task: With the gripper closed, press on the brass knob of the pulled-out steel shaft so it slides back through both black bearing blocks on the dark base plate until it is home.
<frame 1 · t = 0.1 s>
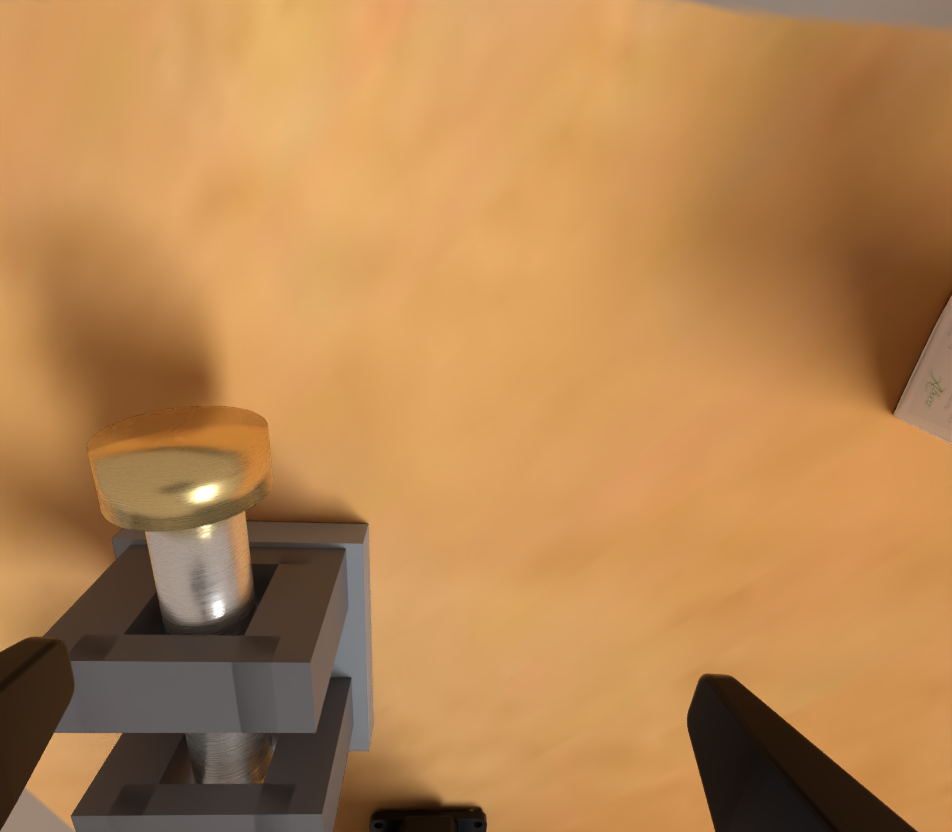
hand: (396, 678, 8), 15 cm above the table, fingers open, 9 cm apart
shaft: (212, 620, 20), point 5 cm above the table, slide at 4.0 cm
bearing bracket: (263, 626, 25), on the table
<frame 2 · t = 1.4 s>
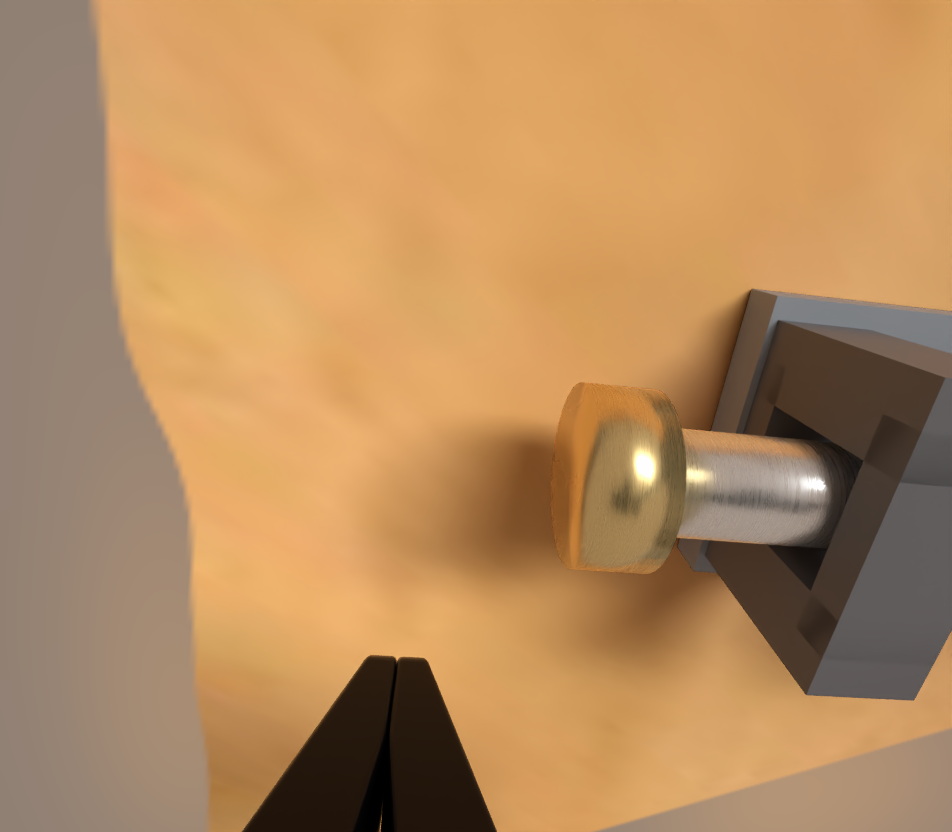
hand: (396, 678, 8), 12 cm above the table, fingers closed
shaft: (827, 494, 15), point 5 cm above the table, slide at 4.0 cm
bearing bracket: (861, 443, 20), on the table
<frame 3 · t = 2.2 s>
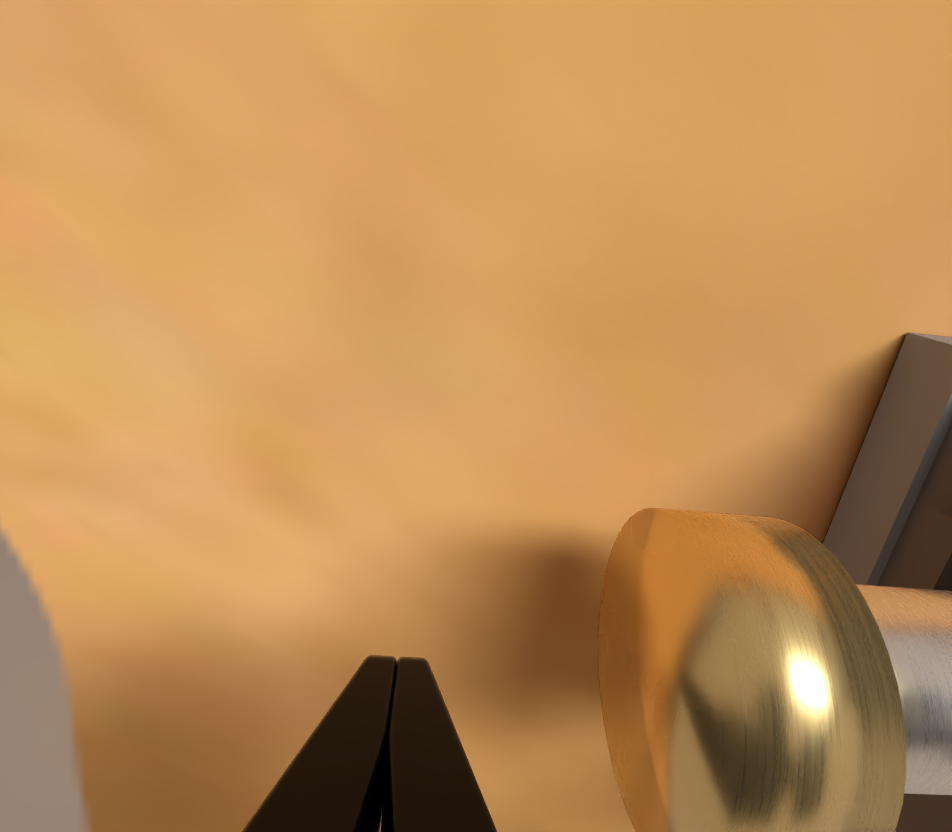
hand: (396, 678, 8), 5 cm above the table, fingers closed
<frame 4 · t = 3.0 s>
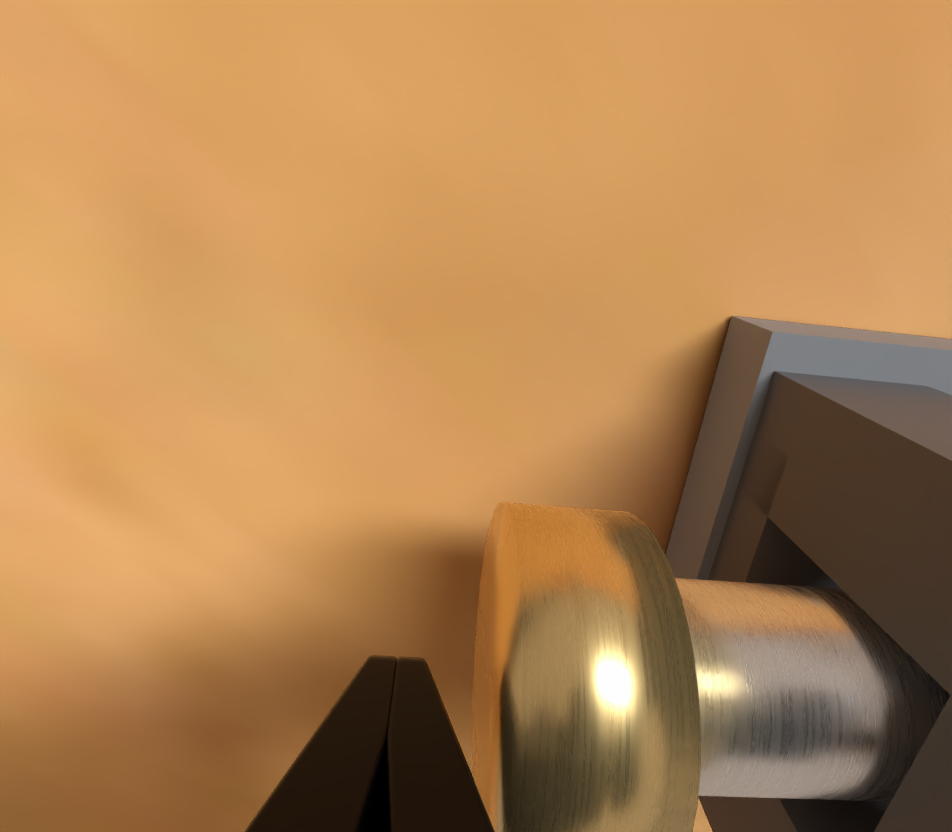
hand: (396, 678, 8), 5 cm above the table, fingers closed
shaft: (942, 691, 9), point 4 cm above the table, slide at 2.6 cm, touching gripper
bearing bracket: (899, 543, 13), on the table
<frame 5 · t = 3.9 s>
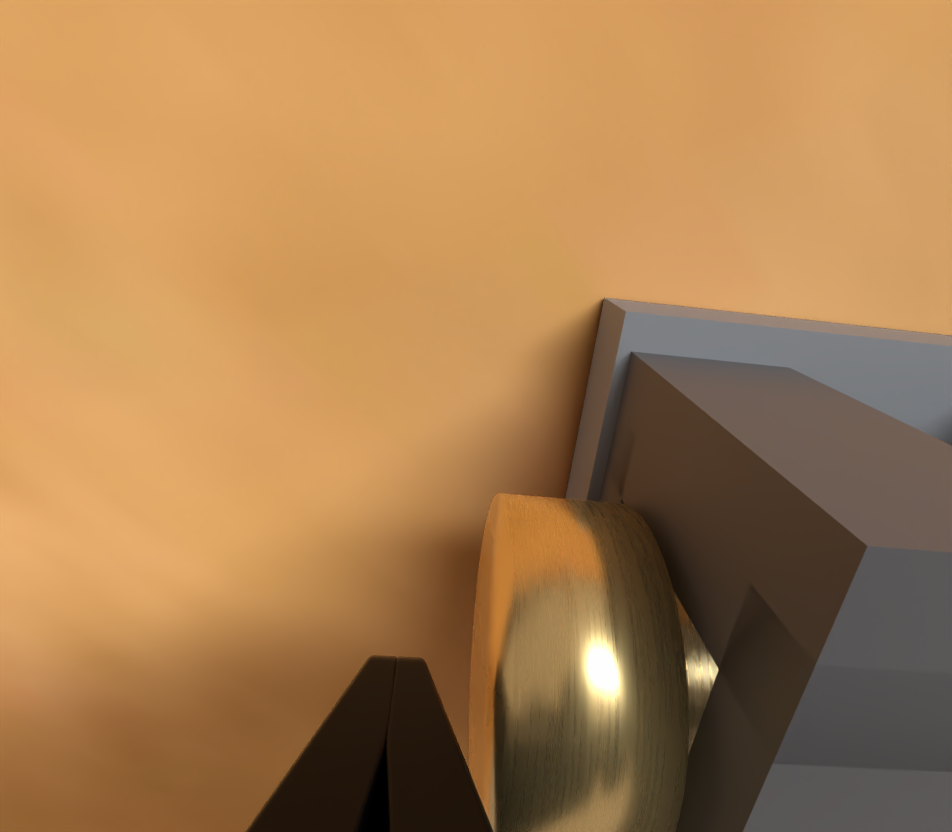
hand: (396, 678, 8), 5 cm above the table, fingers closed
shaft: (934, 682, 9), point 5 cm above the table, slide at 0.0 cm, touching gripper
bearing bracket: (795, 531, 13), on the table
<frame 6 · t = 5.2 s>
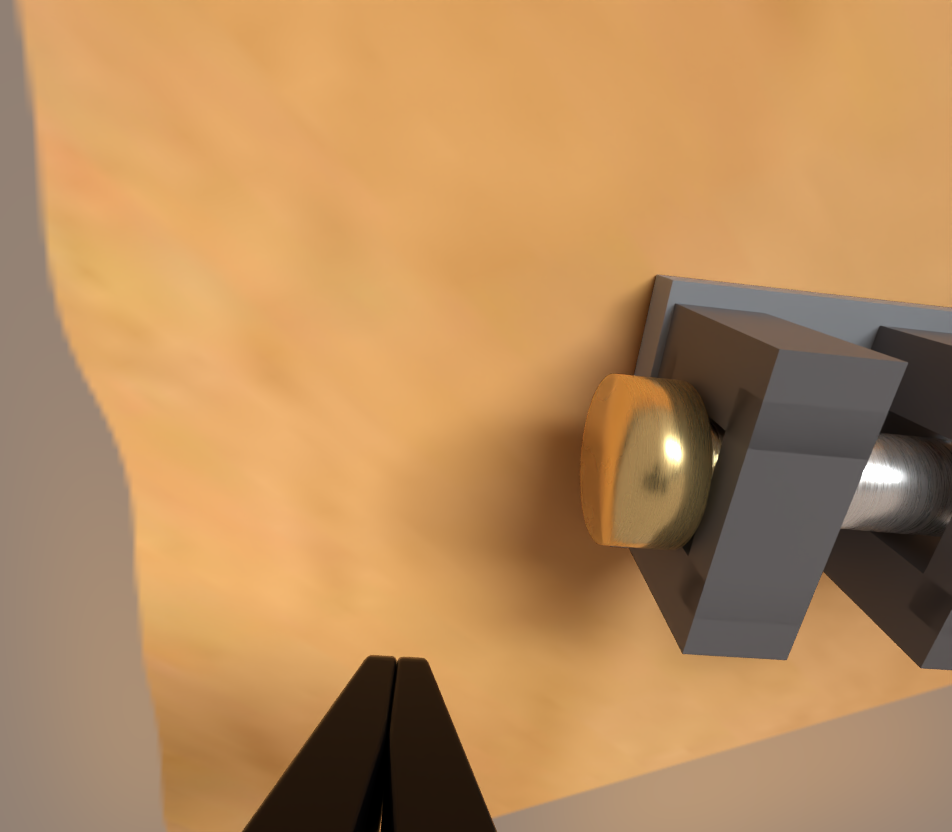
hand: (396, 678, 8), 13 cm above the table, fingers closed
shaft: (840, 478, 16), point 4 cm above the table, slide at 0.0 cm
bearing bracket: (772, 424, 21), on the table
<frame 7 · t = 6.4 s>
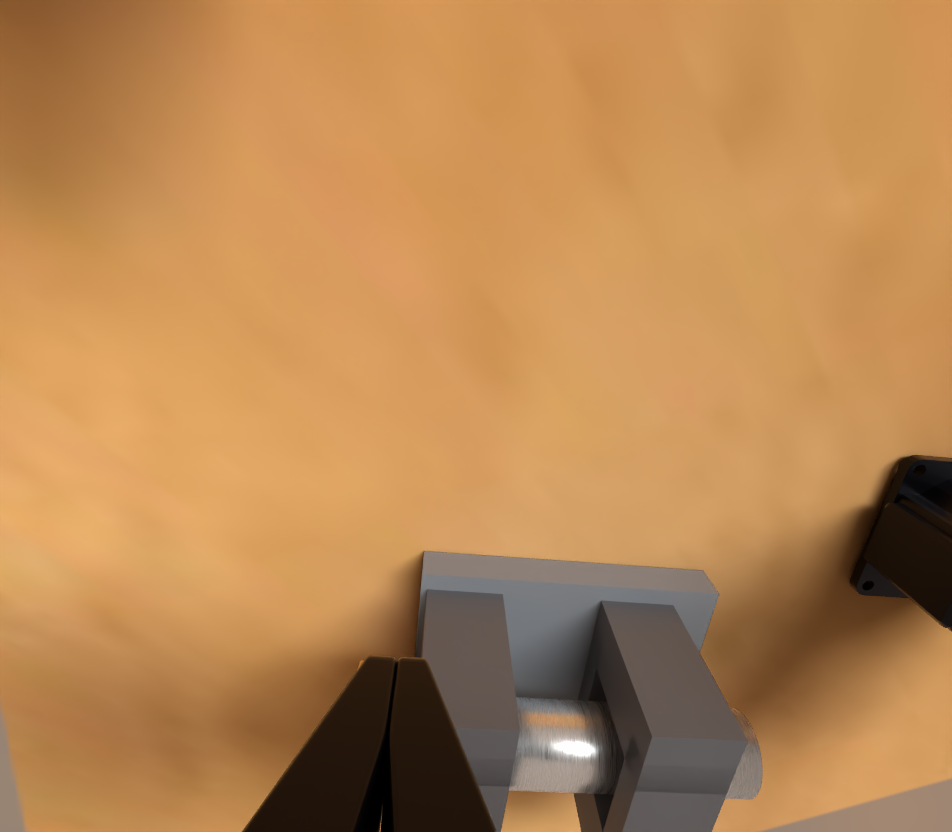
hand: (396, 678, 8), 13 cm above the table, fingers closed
shaft: (550, 743, 20), point 4 cm above the table, slide at 0.0 cm
bearing bracket: (542, 652, 25), on the table
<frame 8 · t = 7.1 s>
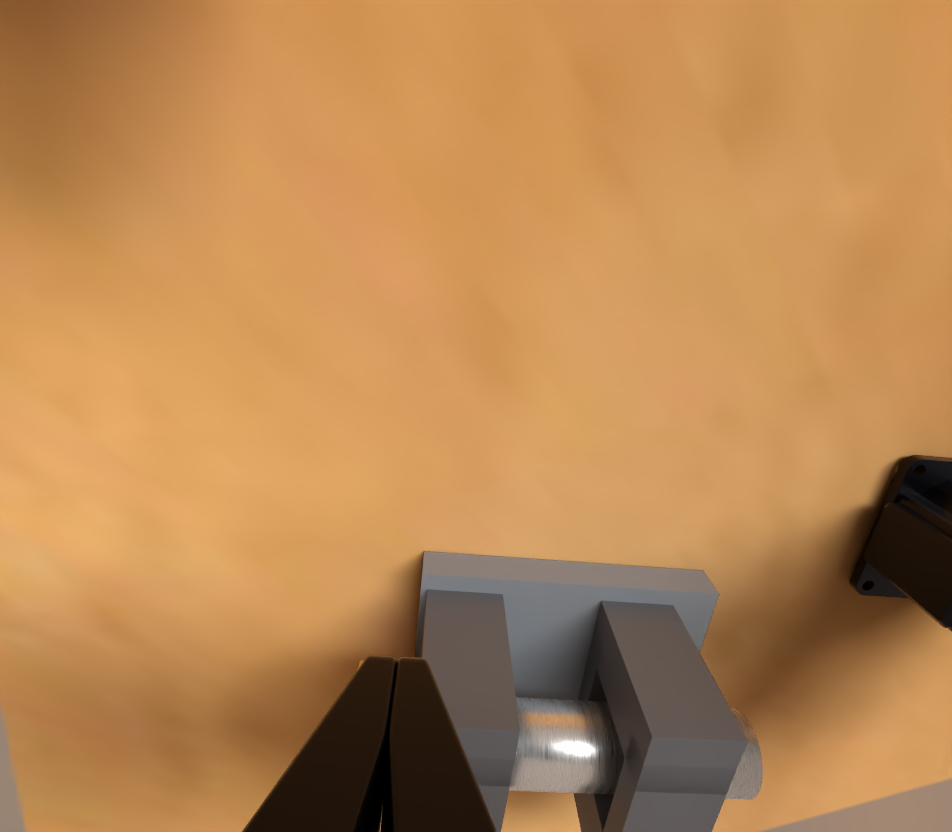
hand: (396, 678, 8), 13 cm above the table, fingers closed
shaft: (550, 743, 20), point 5 cm above the table, slide at 0.0 cm
bearing bracket: (542, 652, 25), on the table
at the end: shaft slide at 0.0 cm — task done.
